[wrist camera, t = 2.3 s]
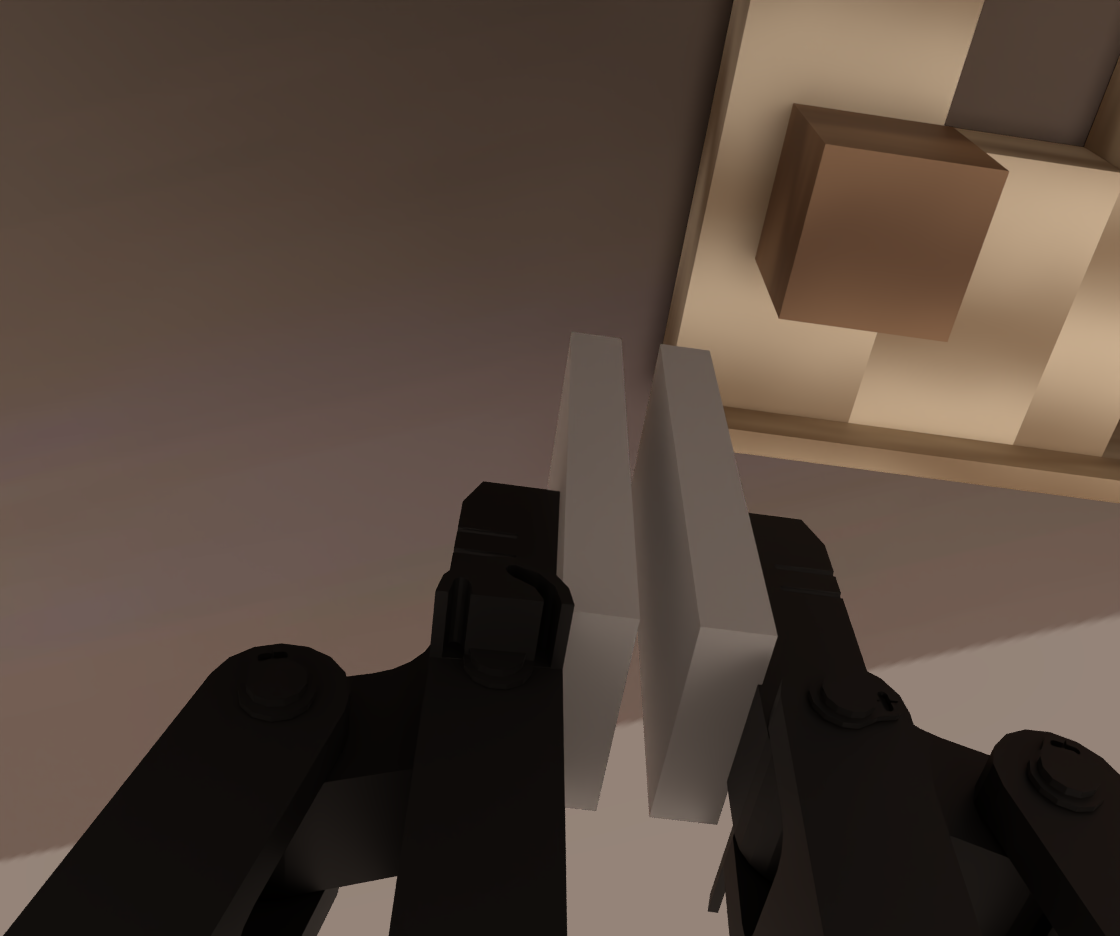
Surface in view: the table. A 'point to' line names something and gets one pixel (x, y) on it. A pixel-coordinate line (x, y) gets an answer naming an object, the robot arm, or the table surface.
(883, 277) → the walnut block
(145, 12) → the table surface
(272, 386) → the table surface
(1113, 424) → the trap box
